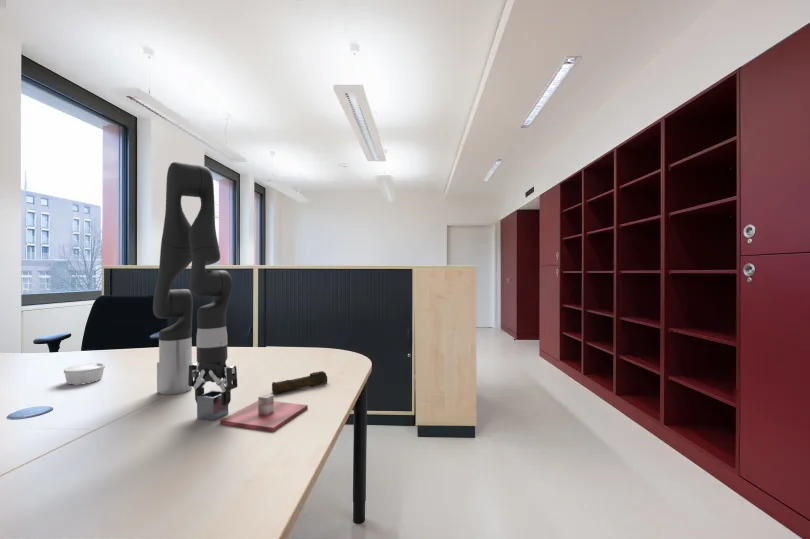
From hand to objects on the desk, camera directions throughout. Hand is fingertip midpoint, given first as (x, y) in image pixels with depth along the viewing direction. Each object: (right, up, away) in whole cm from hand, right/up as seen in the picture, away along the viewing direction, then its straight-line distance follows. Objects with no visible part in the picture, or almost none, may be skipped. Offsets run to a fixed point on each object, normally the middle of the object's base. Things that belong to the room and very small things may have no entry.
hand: (212, 403), depth 105 cm
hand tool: (+17, -4, +25) cm, 30 cm away
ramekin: (-62, -4, +32) cm, 70 cm away
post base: (+14, -4, 0) cm, 15 cm away
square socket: (0, -4, 0) cm, 4 cm away
